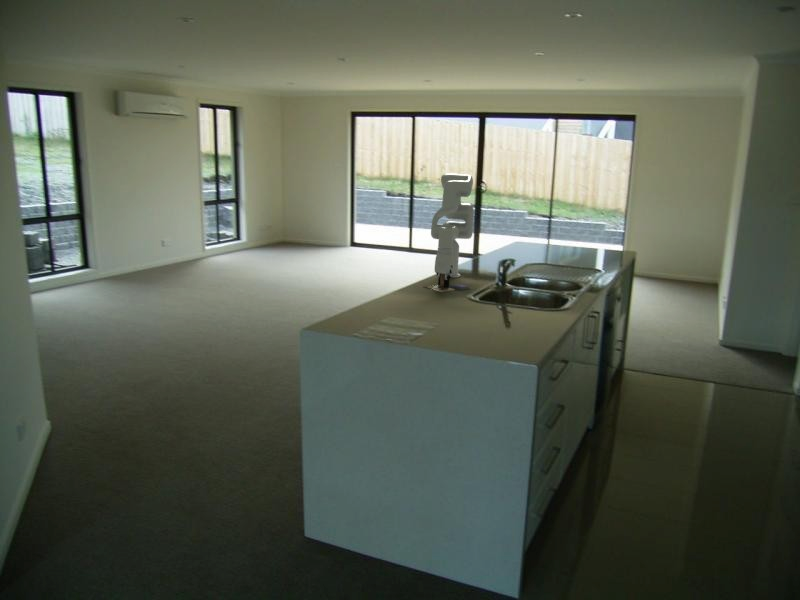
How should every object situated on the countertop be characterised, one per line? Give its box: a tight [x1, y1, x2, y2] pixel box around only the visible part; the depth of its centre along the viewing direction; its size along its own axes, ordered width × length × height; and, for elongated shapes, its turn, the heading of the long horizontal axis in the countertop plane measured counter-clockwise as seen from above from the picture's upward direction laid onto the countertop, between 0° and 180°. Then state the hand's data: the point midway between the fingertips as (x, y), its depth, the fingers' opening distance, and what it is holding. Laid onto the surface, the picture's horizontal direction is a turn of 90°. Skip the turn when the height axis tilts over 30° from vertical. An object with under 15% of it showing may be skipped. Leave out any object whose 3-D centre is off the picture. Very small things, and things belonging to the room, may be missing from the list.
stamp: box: [438, 274, 449, 290], centre depth 327 cm, size 4×4×8 cm
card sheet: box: [431, 284, 456, 293], centre depth 331 cm, size 14×10×1 cm
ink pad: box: [449, 283, 471, 291], centre depth 334 cm, size 9×7×2 cm
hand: (443, 286), depth 328 cm, fingers closed on stamp, 3 cm apart
